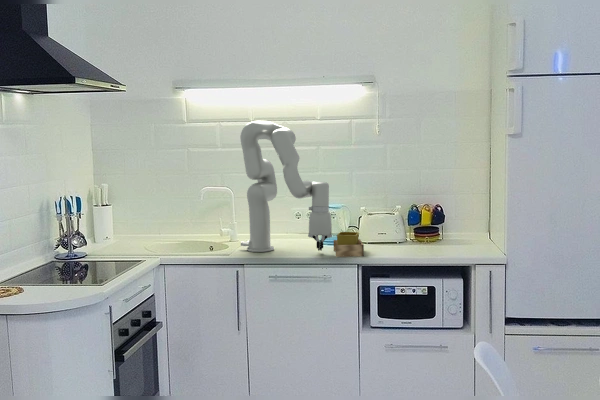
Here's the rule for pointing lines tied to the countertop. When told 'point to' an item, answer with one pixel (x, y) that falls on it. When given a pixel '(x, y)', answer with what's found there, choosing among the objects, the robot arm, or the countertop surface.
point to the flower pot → (348, 238)
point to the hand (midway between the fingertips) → (319, 249)
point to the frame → (349, 249)
